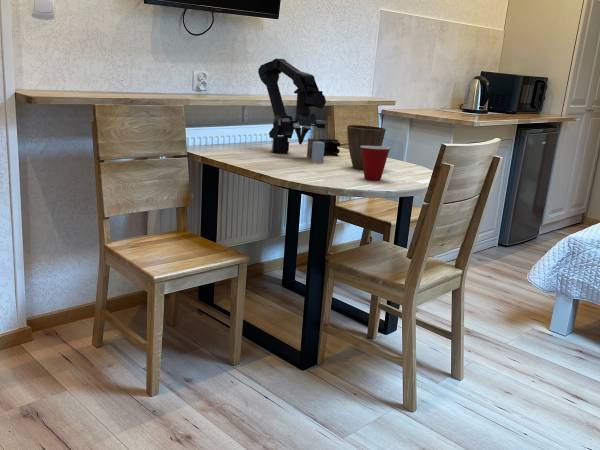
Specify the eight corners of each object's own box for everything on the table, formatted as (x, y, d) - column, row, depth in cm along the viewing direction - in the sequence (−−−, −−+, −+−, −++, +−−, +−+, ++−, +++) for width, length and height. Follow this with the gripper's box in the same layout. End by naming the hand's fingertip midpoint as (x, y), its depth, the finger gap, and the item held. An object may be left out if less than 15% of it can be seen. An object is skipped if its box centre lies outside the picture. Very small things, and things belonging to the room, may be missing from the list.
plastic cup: (378, 176, 218) (382, 143, 214) (392, 182, 208) (396, 148, 205) (352, 176, 214) (355, 142, 211) (365, 182, 204) (368, 147, 201)
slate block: (313, 162, 236) (314, 142, 234) (311, 161, 240) (312, 141, 238) (323, 163, 237) (324, 143, 235) (320, 161, 241) (322, 141, 238)
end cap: (334, 153, 265) (335, 138, 263) (340, 156, 258) (341, 141, 256) (313, 153, 262) (314, 137, 260) (318, 156, 255) (319, 140, 253)
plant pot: (337, 164, 236) (341, 124, 232) (370, 164, 241) (374, 125, 237) (353, 171, 223) (357, 129, 219) (388, 172, 228) (393, 130, 224)
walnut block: (308, 158, 244) (310, 139, 242) (306, 157, 248) (308, 138, 246) (318, 159, 245) (319, 140, 243) (316, 157, 249) (317, 138, 247)
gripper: (283, 106, 231) (281, 146, 235) (330, 109, 234) (326, 148, 239) (279, 103, 241) (276, 142, 245) (323, 106, 245) (320, 144, 249)
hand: (300, 144), depth 244 cm, fingers closed
